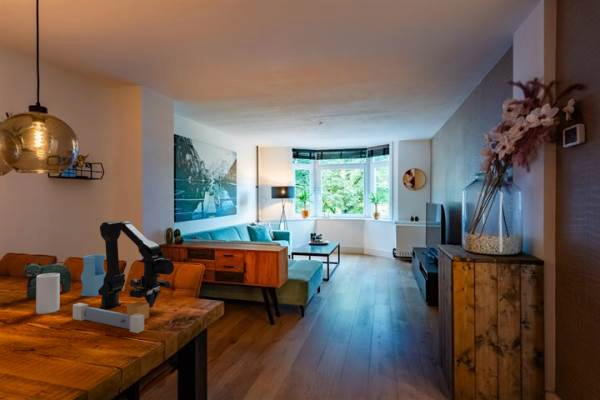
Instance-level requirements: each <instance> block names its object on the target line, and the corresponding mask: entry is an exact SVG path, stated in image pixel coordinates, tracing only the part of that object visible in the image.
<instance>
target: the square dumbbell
mask: <svg viewBox="0 0 600 400" xmlns="http://www.w3.org/2000/svg"><path fill="white" fill-rule="evenodd" d="M87 307H89V304H88V303H83V302H77V303H74V304H72V320H76V321H80V322H82V321H85V320H86V317H85V316H84V313H85V310H86V308H87ZM143 331H145V319H144V315H142V314H137V313H136V314H134V315H131V316H130V329H129V332H131V333H134V334H135V333H136V334H139V333H141V332H143Z"/></svg>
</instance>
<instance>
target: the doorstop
mask: <svg viewBox="0 0 600 400" xmlns="http://www.w3.org/2000/svg"><path fill="white" fill-rule="evenodd" d="M136 313H137V314H142V315H144V320H146V319H149V318H150V308H149V303H147V302H143V301H137V302H134V303H131V304H129V305H126V314H128V315H134V314H136Z"/></svg>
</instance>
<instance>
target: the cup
mask: <svg viewBox="0 0 600 400" xmlns="http://www.w3.org/2000/svg"><path fill="white" fill-rule="evenodd" d="M60 286H61V284H60V274H59V273H47V274H41V275H38V276H37V278H36V299H35V301H36V302H35V304H36V306H35V308H36V309H35V311H36V312H35V313H36V314H39V315H40V314H41V315H44V314H50V313H51V314H52V313H55V312H58V311H59V310H60V301H61V300H60V289H61V287H60Z"/></svg>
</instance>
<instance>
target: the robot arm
mask: <svg viewBox="0 0 600 400" xmlns="http://www.w3.org/2000/svg"><path fill="white" fill-rule="evenodd" d="M99 231H100V232H99V233H100V236H101V238H102V239H103V240H104V242H105V245H104V246H105V255H106V256H105V259H106V272H105V273H106V275H105V277H104V281H103V285H102V287H101V288H100V289H99V290H98V293H99V295H98V296H101V301H100V303H101V304H100V305H99V308H101V309H102V308H103V309H106V310H109V309H113V308H115V307H116V308H117V307H118V306H121V305H122V303H120V301H119V300H120V299H119V297H120V294H119V293H120V292H122V290H123V288H124V286H125V283H126V276H125V273H122V272H121V271H120V261H119V257H120V256H119V246H118V245H119V243H118V240H119V238H120V236H121V233H122V232H123V234H124V235H126V237H127V238H128V239H129V240H130V241H132V242H133V243H134V244H135V246H136V247H137V248H138V252H139V255H141V257H142V259H141V260H139V263H141V264H143V274H142V275H141V277H140V279H137V278H133V279H130V280H129V281H130V282H129V285H130V287H131V288H133V289H131V290H130V291H129V298H138V299H141V298H144V299H145V301H146V303H149V309H151V308H153V306H154V304H155V303H156V300H157V298H158V297H159V295H160V293H161V292H162V290H160V288H161V287H163V288H164V289H168V288H170V286H171V283H170V281H169V280H164V279H160V280H159V279H158V278H160V277H161V275H166V276H167V275H168V276H170V275H172V274H173V273H174V269H175V265H174V262H172V259H171V258H166V256H165V254H164V253H163V251H162V249H161V246H160V245H159V244H157V243H156V242H155V241H152V240H150V239H148V238H146V237H145V236H144V235H143V233H142V232H140V231H139V230H138V229H137V228H136V227H135V226H134V225H133V223H132V222H131V221H129V220H126V221H125V220H124V221H117V220H116V221H115V220H114V221H105V222H102V223H101V224H100V226H99Z"/></svg>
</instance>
